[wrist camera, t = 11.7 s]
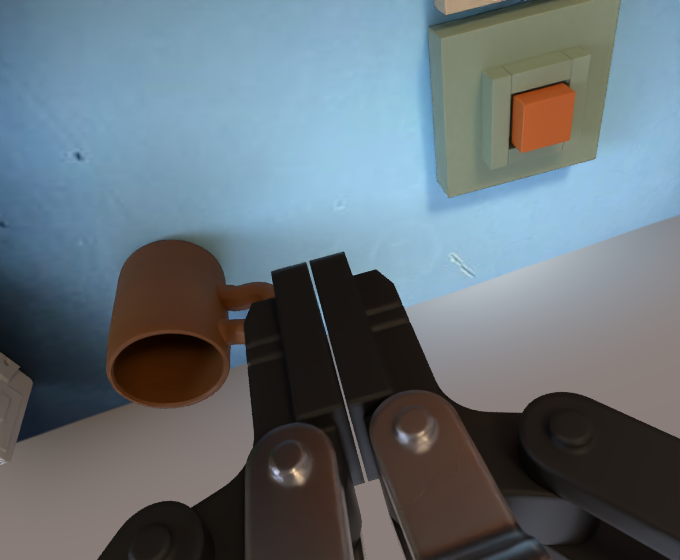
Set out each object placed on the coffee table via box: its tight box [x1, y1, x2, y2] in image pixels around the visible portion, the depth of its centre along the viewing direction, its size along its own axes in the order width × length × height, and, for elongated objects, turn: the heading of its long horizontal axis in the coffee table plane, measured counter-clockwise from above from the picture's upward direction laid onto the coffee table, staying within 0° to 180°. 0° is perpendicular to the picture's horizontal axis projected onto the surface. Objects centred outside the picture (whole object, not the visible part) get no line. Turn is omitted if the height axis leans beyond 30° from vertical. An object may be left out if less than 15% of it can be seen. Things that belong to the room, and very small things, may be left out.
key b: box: [511, 83, 575, 153], centre depth 34 cm, size 3×3×2 cm
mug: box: [106, 240, 275, 408], centre depth 37 cm, size 12×8×9 cm, turn 105°
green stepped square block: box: [428, 0, 621, 198], centre depth 35 cm, size 11×11×4 cm
